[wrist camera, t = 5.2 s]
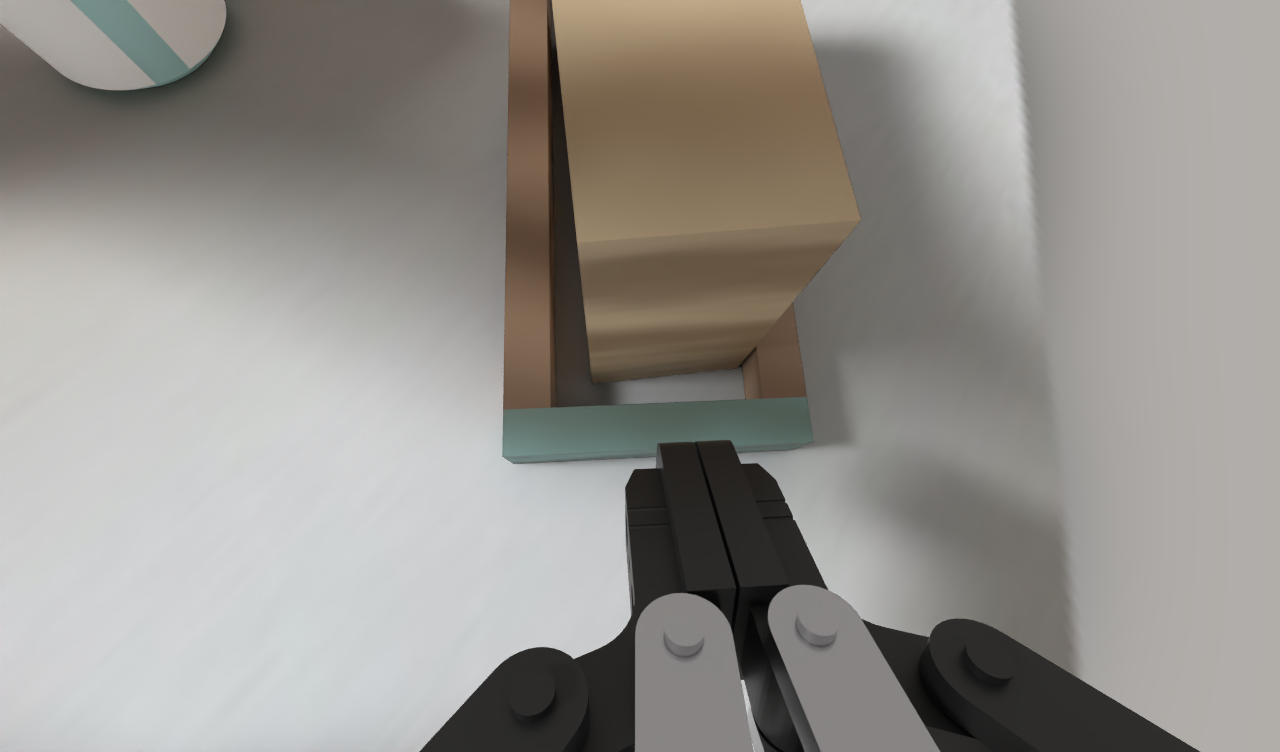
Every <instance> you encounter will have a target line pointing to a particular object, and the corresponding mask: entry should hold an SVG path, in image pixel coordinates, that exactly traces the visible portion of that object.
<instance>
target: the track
mask: <svg viewBox="0 0 1280 752" xmlns="http://www.w3.org/2000/svg"><path fill="white" fill-rule="evenodd" d="M742 371H743V380H744V388H745V397H746V399H745V400H721V401H697V402H674V403H650V404H626V405H602V406H578V407H556V342H555V262H554V181H553V100H552V20H551V0H510V33H509V93H508V154H507V214H506V275H505V335H504V395H503V456H502V457H504V458H505V459H507V460H509V461H510V462H512V463H513V464H519V463H539V462H559V461H580V460H600V459H620V458H640V457H656V454H657V444H658V443H673V442H693V443H694V442H695V441H715V440H731V442H732V443H733V445H734V448H735V450H736V453H740V452H760V451H780V450H793V449H796V448H798V447H801V446H803V445H806V444H808V443H811V442H814V441H813V435H812V428H811V421H810V415H809V408H808V401H807V395H806V388H805V381H804V375H803V368H802V361H801V355H800V348H799V341H798V335H797V328H796V321H795V315H794V308H793V302H792V303H791V304H790V306H789V307H788V308H787V309H786V310H785V312H784V313H783V314H782V315H781V316H780V318H779V319H778V320H777V321H776V322H775V324H774V325H773V326H772V327H771V328H770V330H769V331H768V332H767V333H766V334H765V336H764V337H763V338H762V339H761V340H760V341H759V343H758V344H757V345H756V346H755V347H754V349H753V350H752V351H751V352H750V353H749V355H748V356H747V357H746V358H745V359H744V361H743V362H742Z"/></svg>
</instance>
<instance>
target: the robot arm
mask: <svg viewBox="0 0 1280 752" xmlns="http://www.w3.org/2000/svg"><path fill="white" fill-rule="evenodd" d="M625 510H626V551H627V564H628V578H629V591H630V604H631V619H630V620H629V622H628V624H627V626H626V627H625V629H624V630H623V631H622V632H621V633H620V634H619V635H618V636H617V637H616V638H615V639H614V640H613V641H611V642H610V643H608V644H607V645H605V646H603V647H601V648H599V649H597V650H594V651H592V652H590V653H587V654H585V655H583V656H580V657H578V658H575V659H573V658H572V657H571V656H569V655H568V654H566V653H564V652H562V651H560V650H557V649H554V648H547V647H537V648H531V649H527V650H524V651H521V652H519V653H517V654H515V655H513V656H511V657H509V658H508V659H507V660H505V661H504V662H502V663H501V664H500V665H499V666H498V667H497V668H496V669H495V670H494V671H493V672H492V673H491V674H490V676H489V677H488V678H487V679H486V680H485V681H484V682H483V683H482V684H481V685H480V686H479V688H478V689H477V690H476V691H475V692H474V693H473V694H472V695H471V696H470V697H469V698H468V699H467V701H466V702H465V703H464V704H463V705H462V706H461V707H460V708H459V709H458V710H457V711H456V713H455V714H454V715H453V716H452V717H451V718H450V719H449V720H448V721H447V722H446V723H445V724H444V726H443V727H442V728H441V729H440V730H439V731H438V732H437V733H436V734H435V735H434V736H433V738H432V739H431V740H430V741H429V742H428V743H427V744H426V745H425V746H424V747H423V748H422V750H421V751H420V752H753V747H754V750H755V752H1199V751H1198V750H1196V749H1195V748H1193V747H1191V746H1190V745H1188V744H1186V743H1185V742H1183V741H1181V740H1180V739H1178V738H1176V737H1175V736H1173V735H1171V734H1170V733H1168V732H1166V731H1164V730H1163V729H1161V728H1160V727H1158V726H1156V725H1155V724H1153V723H1151V722H1150V721H1148V720H1146V719H1145V718H1143V717H1141V716H1140V715H1138V714H1137V713H1135V712H1133V711H1132V710H1130V709H1128V708H1126V707H1125V706H1123V705H1121V704H1120V703H1118V702H1117V701H1115V700H1113V699H1112V698H1110V697H1108V696H1106V695H1105V694H1103V693H1102V692H1100V691H1098V690H1097V689H1095V688H1093V687H1092V686H1090V685H1088V684H1087V683H1085V682H1083V681H1082V680H1080V679H1078V678H1077V677H1075V676H1073V675H1072V674H1070V673H1068V672H1067V671H1065V670H1063V669H1062V668H1060V667H1058V666H1057V665H1055V664H1054V663H1052V662H1050V661H1049V660H1047V659H1045V658H1044V657H1042V656H1040V655H1039V654H1037V653H1035V652H1034V651H1032V650H1030V649H1029V648H1027V647H1025V646H1024V645H1022V644H1020V643H1019V642H1017V641H1015V640H1014V639H1012V638H1010V637H1009V636H1007V635H1005V634H1004V633H1002V632H1000V631H998V630H996V629H995V628H993V627H990V626H988V625H986V624H983V623H980V622H977V621H973V620H968V619H949V620H946V621H943V622H941V623H940V624H938V625H937V626H936V627H935V628H934V629H933V631H932V633H931V635H930V637H925V636H920V635H916V634H912V633H907V632H903V631H898V630H894V629H890V628H885V627H882V626H878V625H875V624H872V623H870V622H867V621H865V620H863V619H861V618H860V616H859V615H858V613H857V612H856V611H855V610H854V609H853V608H852V606H851V605H850V604H848V603H847V602H846V601H845V600H844V599H842V598H841V597H839V596H838V595H836V594H835V593H833V592H831V591H829V590H828V588H827V586H826V585H825V583H824V581H823V579H822V576H821V574H820V572H819V570H818V568H817V566H816V564H815V562H814V560H813V557H812V555H811V553H810V551H809V549H808V547H807V545H806V543H805V541H804V538H803V536H802V534H801V532H800V530H799V528H798V526H797V524H796V522H795V520H793V515H792V513H791V511H790V509H789V507H788V505H787V503H785V498H784V496H783V494H782V492H781V490H780V488H779V486H778V484H777V481H776V480H775V479H774V478H773V477H772V476H771V475H770V474H769V473H768V472H767V471H766V470H764V469H763V468H762V467H761V466H760V465H759V464H758V463H753V464H741V463H740V460H739V458H738V455H737V453H736V450H735V448H734V445H733V443H732V442H731V440H715V441H695V442H694V443H693V442H673V443H658V444H657V454H656V468H653V469H634V471H633V473H632V475H631V477H630V479H629V481H628V483H627V485H626V487H625ZM741 680H744V681H745V685H746V689H747V693H748V696H749V700H750V706H749V711H748V718H747V713H746V707H745V701H744V696H743V690H742V684H741ZM751 740H752V741H751ZM752 743H753V746H752Z"/></svg>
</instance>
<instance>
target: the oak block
mask: <svg viewBox="0 0 1280 752" xmlns="http://www.w3.org/2000/svg"><path fill="white" fill-rule="evenodd" d="M552 8H553V17H554V27H555V36H556V46H557V55H558V65H559V74H560V84H561V94H562V103H563V113H564V122H565V132H566V141H567V151H568V160H569V170H570V179H571V189H572V199H573V208H574V218H575V227H576V237H577V246H578V255H579V265H580V274H581V283H582V293H583V302H584V311H585V320H586V330H587V339H588V348H589V358H590V367H591V376H592V384H594V383H603V382H613V381H622V380H632V379H641V378H651V377H660V376H670V375H679V374H689V373H698V372H708V371H717V370H726V369H736V368H738V367H739V365H740V364H741V363H742V362H743V361H744V359H745V358H746V357H747V356H748V355H749V353H750V352H751V351H752V350H753V349H754V347H755V346H756V345H757V344H758V343H759V341H760V340H761V339H762V338H763V337H764V336H765V334H766V333H767V332H768V331H769V330H770V328H771V327H772V326H773V325H774V324H775V322H776V321H777V320H778V319H779V318H780V316H781V315H782V314H783V313H784V312H785V310H786V309H787V308H788V307H789V306H790V304H791V303H792V302H793V301H794V300H795V299H796V297H797V296H798V295H799V294H800V293H801V291H802V290H803V289H804V288H805V287H806V285H807V284H808V283H809V282H810V281H811V279H812V278H813V277H814V276H815V275H816V273H817V272H818V271H819V270H820V269H821V268H822V266H823V265H824V264H825V263H826V262H827V260H828V259H829V258H830V257H831V256H832V254H833V253H834V252H835V251H836V250H837V248H838V247H839V246H840V245H841V244H842V242H843V241H844V240H845V239H846V238H847V236H848V235H849V234H850V233H851V232H852V231H853V229H854V228H855V227H856V226H857V225H858V223H859V222H860V221H861V218H860V214H859V211H858V207H857V203H856V200H855V196H854V193H853V189H852V185H851V182H850V178H849V174H848V171H847V167H846V164H845V160H844V156H843V153H842V149H841V145H840V142H839V138H838V135H837V131H836V127H835V124H834V120H833V116H832V113H831V109H830V106H829V102H828V98H827V95H826V91H825V87H824V84H823V80H822V77H821V73H820V69H819V66H818V62H817V58H816V55H815V51H814V48H813V44H812V40H811V37H810V33H809V29H808V26H807V22H806V19H805V15H804V11H803V8H802V4H801V0H552Z"/></svg>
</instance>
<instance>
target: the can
mask: <svg viewBox="0 0 1280 752" xmlns="http://www.w3.org/2000/svg"><path fill="white" fill-rule="evenodd" d="M225 22H226V5H225V1H224V0H0V24H1V25H2V26H4V27H5V28H6V29H7V30H8V31H10V32H11V33H12V34H13V35H15V36H16V37H17V38H18V39H19V40H21V41H22V42H23V43H24V44H25V45H27V46H28V47H29V48H30V49H32V50H33V51H34V52H35V53H36V54H38V55H39V56H40V57H41V58H42V59H44V60H45V61H46V62H47V63H49V64H50V65H51V66H52V67H53V68H55V69H56V70H57V71H58V72H60V73H61V74H62V75H64V76H65V77H67V78H68V79H70V80H72V81H74V82H76V83H79V84H82V85H85V86H88V87H92V88H98V89H105V90H136V89H144V88H153V87H158V86H162V85H166V84H169V83H172V82H174V81H177V80H179V79H181V78H183V77H185V76H187V75H188V74H190V73H192V72H193V71H194V70H196V69H197V68H198V67H199V66H201V65H202V64H203V63H204V62H205V61H206V60H207V58H208V57H209V56H210V54H211V53H212V51H213V49H214V48H215V46H216V45H217V43H218V41H219V39H220V37H221V34H222V32H223V29H224V26H225Z"/></svg>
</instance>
